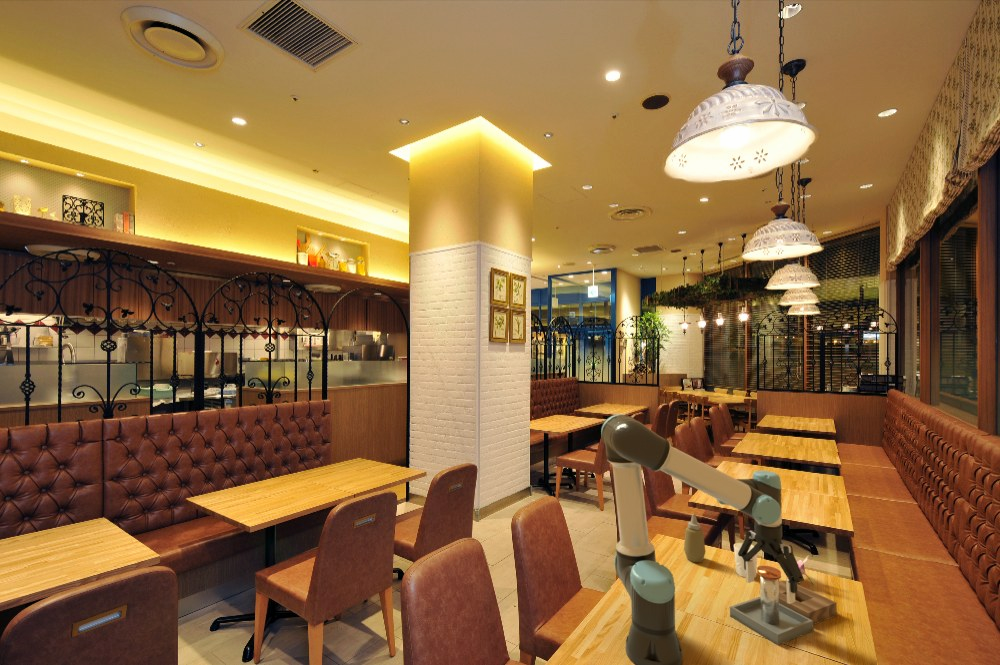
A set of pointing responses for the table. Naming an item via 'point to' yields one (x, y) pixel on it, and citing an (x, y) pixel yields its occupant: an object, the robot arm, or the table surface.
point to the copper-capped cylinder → (769, 594)
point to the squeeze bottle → (694, 541)
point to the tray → (778, 634)
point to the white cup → (740, 562)
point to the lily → (802, 567)
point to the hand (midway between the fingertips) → (769, 591)
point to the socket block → (808, 603)
